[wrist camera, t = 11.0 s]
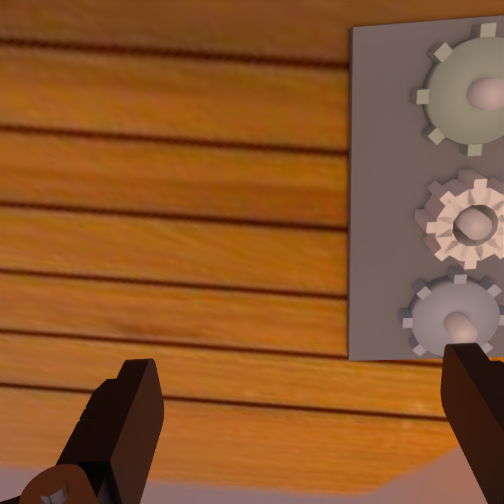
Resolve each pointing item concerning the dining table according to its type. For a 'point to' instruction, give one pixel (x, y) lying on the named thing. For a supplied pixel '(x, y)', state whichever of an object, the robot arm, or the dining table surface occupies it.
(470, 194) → the gear
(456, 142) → the gear board
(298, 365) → the dining table surface
